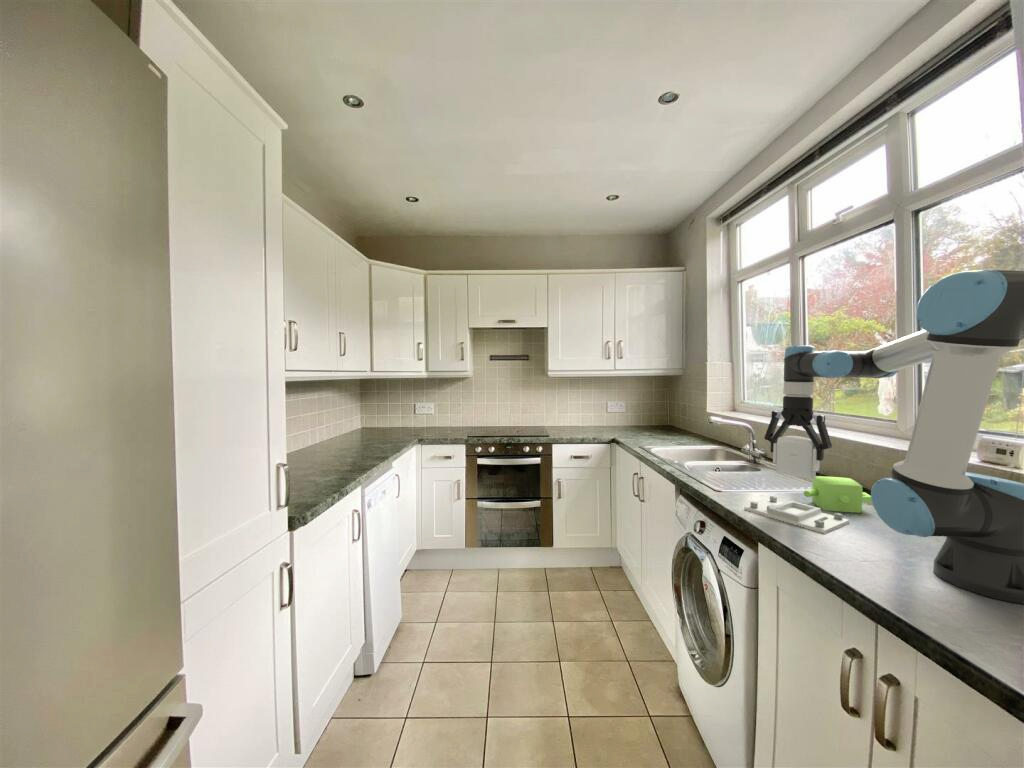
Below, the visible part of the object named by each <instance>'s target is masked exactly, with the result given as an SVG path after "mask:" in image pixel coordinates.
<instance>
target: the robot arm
mask: <svg viewBox="0 0 1024 768" xmlns="http://www.w3.org/2000/svg"><path fill="white" fill-rule="evenodd" d="M915 317H916V320H917V321H919V322H918V325H919V326H920V328H921V329H922V330H919V331H916V332H914V333H910V334H909V335H906V336H902V337H901V338H898V339H896V340H892V341H890V342H888V343H885V344H882V345H879V346H876V347H874V348H872V349H869V350H862V351H861V350H851V351H850V350H838V349H837V350H836V349H832V350H831V349H828V350H821V351H820V350H819V351H816V347H815V346H813V345H790V346H787V347H786V348H785V352H784V358H783V389H782V391H783V392H782V393H783V395H784V396H783V398H782V410H781V411H778V410H773V411H771V419H770V422H769V424H768V426H767V430H766V432H765V435H764V440H765V441H768V442H770V452H771V453H773V455H772V464H775V465H776V452H777V440H778V438H779V437H782V436H784V434H785V433H786V431H787V430H788V428H790V427H791V426H796V427H802V428H803V429H804V431H805V432H806V434H807V435H808V437H809V439H811V440H812V442H813V444H814V445H815V447H816V449H813V464H812V471H816V472H818V471H820V466H821V465H820V461H823V460H824V453H825V450H828V449H832V448H833V444H832V442H831V439H830V434H829V432H828V429H827V425H826V415H825V414H814V412H813V408H814V397H812V396H813V395H814V385H815V384H814V382H815V379H814V378H825V379H837V378H842V379H843V378H845V379H846V378H850V379H852V378H853V379H855V378H857V379H858V378H859V379H867V378H868V379H882V378H883V379H885V378H886V379H887V378H891V377H894V376H896V374H897V373H899V372H900V371H901V370H904V369H907V368H911V367H913V366H918V365H921V364H925V363H928V362H930V366H929V369H928V373H927V376H926V380H925V384H924V387H923V391H922V395H921V398H920V403H919V407H918V410H917V413H916V418H915V420H914V421H915V422H914V426H913V430H912V433H911V436H910V440H909V444H908V448H907V451H906V455H905V459H903V460H901V461H897V462H894V464H893V466H892V470H891V474H890V477H883V478H881V479H879V480H877V481H875V482H874V483H873V485H872V487H871V490H870V496H871V500H872V502H871V503H872V507H873V508H874V509H873V510H874V511H876V514H877V516H878V517H879V518H880V520H881V521H882V522H883V523H884V524H885V525H887V527H889V528H890V529H892V530H893V531H895V532H897V533H900V534H903V535H907V536H914V537H915V536H917V537H920V538H928V537H946V538H945V540H944V542H943V544H942V545H941V547H940V549H939V551H938V552H937V554H936V556H935V557H934V560H933V567H932V569H933V573H934V574H935V575H936V576H937V577H939V578H940V579H941V580H944V581H945V582H947V583H949V584H951V585H954V586H956V587H958V588H960V589H964V590H966V591H969V592H971V593H972V592H973V593H974V594H978V595H982V596H985V597H989V598H992V599H996V600H999V601H1005V602H1010V603H1015V604H1023V605H1024V483H1022V482H1018V481H1015V480H1010V479H1005V478H1001V477H996V476H990V475H987V474H980V473H974V472H968V471H967V469H968V466H969V462H970V459H971V455H972V452H973V450H974V446H975V444H976V440H977V435H978V433H979V430H980V426H981V423H982V420H983V416H984V413H985V410H986V408H987V404H988V400H989V398H990V395H991V391H992V388H993V385H994V381H995V378H996V375H997V371H998V368H999V366H1000V361H1001V358H1002V356H1004V355H1005V354H1007V353H1009V352H1011V351H1013V350H1015V349H1017V348H1018V347H1019V344H1020V341H1021V340H1024V270H1013V269H1012V270H1006V269H1005V270H1004V269H1001V270H1000V269H998V270H997V269H979V270H966V271H959V272H954V273H951V274H948V275H946V276H944V277H942V278H940V279H938V280H937V281H936V282H935V283H932V284H931V285H930V286H929V287H928V288H927V289H926V290H925V292H924V293H923V294H922V295H921V297H920V299H918V302H917V306H916V310H915ZM781 417H782V418H783V419H784V420H782V423H781V425H780V426H779V427H778V429H777V426H778V424H779V421H780V418H781ZM813 419H814V422H815V424H816V427H817V430H818V431H817V432H818V433H819V435H818V434H817V432H816V430H815V428H814V426H813V424H812V422H811V421H812V420H813ZM776 429H777V430H776Z"/></svg>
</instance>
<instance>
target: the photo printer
mask: <svg viewBox="0 0 1024 768" xmlns="http://www.w3.org/2000/svg"><path fill="white" fill-rule="evenodd" d="M813 449H816V447H815V445H814V444H813V442H812V440H811V439H810V438H808V437H803V436H800V435H799V436H798V435H782V436H781V437H779V438H778V440H777V452H776V464H775V471H776V474H780V475H786V476H793V477H796V478H797V477H798V478H804V479H809V480H813V479H815V478H816V476H817V474H816V473H817V471H812V464H813Z"/></svg>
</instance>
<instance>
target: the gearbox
mask: <svg viewBox="0 0 1024 768" xmlns="http://www.w3.org/2000/svg"><path fill="white" fill-rule="evenodd" d="M803 495H804V497H806V498H810V497H812V498H811V499H812V503H813V504H815V505H817V507H818V508H821V510H824V511H832V512H833V511H834V512H840V513H841V512H843V513H857V514H858V513H861V514H862V512H863V511H862V510H863V503H872V500H871V494H868V493H867V492H864V491H863V485H861V484H860V483H859V482H857V481H856V480H854V479H852V478H849V477H840V476H822V475H816V478H815V479H812V489H808V490H804V491H803Z"/></svg>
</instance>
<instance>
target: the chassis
mask: <svg viewBox="0 0 1024 768" xmlns="http://www.w3.org/2000/svg"><path fill="white" fill-rule="evenodd" d="M743 510H745V511H747V512H750V511H751V513H754V514H758V515H760V514H761V515H760V516H763V515H764V516H763V517H767V518H770V517H771V519H773V518H774V520H777V519H778V521H780V520H781V522H783V521H784V523H787V522H788V523H787V524H790V523H791V524H790V525H793V524H794V526H797V525H798V526H797V527H800V526H801V528H803V527H804V529H808V530H810V531H813V530H814V532H817V533H821V534H824V535H826V534H828V533H830V532H833V531H835V530H837V529H839V528H841V527H844V526H846V525H849V524H850V519H848V518H843V514H842V513H841V512H834V513H833V515H832V514H829V513H824V512H822V508H820V507H819V506H817V507H816V506H813V505H809V504H805V503H802V502H798V501H794V500H789V501H786V502H782V501H779V500H778V497H777V496H769V498H767V499H765V500H763V501H759V502H755V501H751V502H750V504H749V505H745V506H744V508H743Z"/></svg>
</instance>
